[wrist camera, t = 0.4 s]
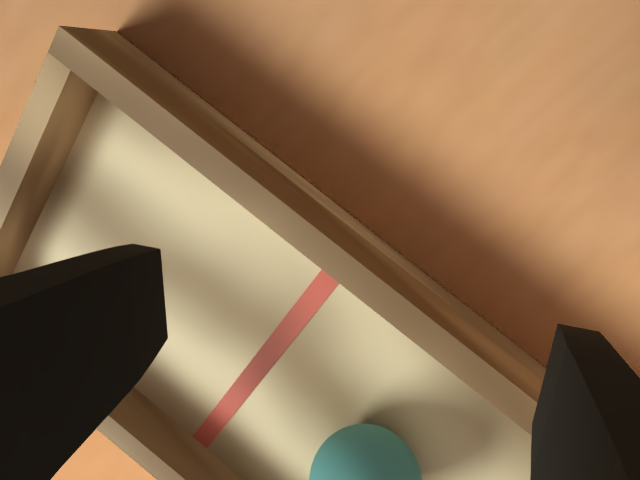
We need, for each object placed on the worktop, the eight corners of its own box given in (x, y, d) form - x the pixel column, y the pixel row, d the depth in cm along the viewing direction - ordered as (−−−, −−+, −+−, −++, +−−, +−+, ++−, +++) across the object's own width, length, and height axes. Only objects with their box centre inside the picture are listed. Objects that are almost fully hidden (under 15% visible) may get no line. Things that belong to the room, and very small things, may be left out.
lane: (482, 675, 25) (480, 750, 22) (1, 276, 26) (-56, 301, 24) (731, 513, 20) (769, 586, 17) (115, 31, 21) (59, 25, 18)
